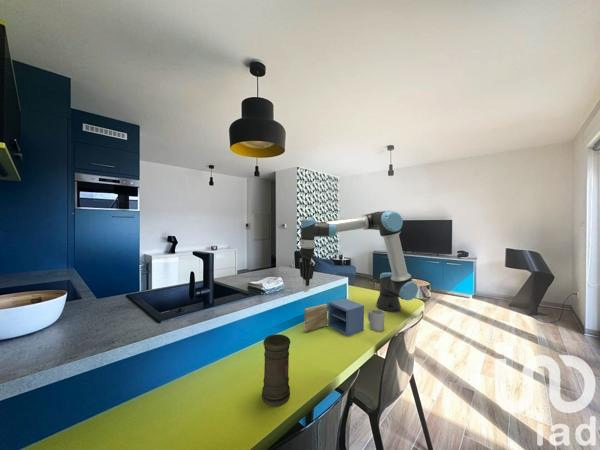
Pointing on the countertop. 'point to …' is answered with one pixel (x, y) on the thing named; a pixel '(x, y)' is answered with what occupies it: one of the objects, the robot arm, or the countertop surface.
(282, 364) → the container
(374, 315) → the cup
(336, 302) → the cabinet
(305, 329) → the door
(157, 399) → the countertop surface
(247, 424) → the countertop surface
